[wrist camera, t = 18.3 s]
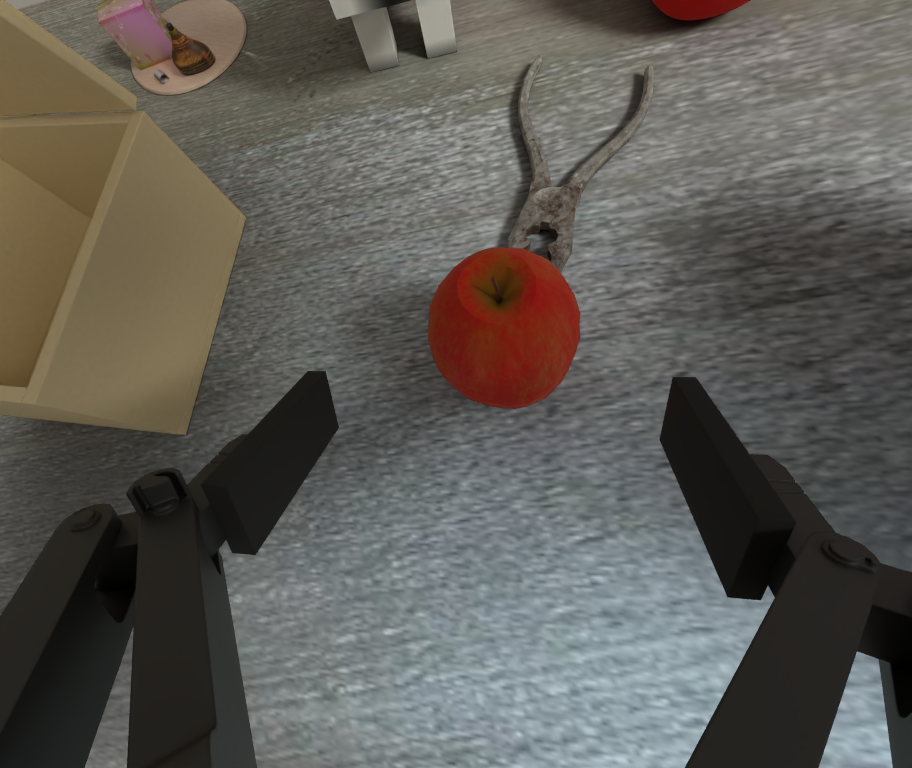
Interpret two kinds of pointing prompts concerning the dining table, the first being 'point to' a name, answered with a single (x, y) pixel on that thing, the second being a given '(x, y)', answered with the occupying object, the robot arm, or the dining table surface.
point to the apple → (504, 327)
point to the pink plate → (175, 41)
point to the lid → (50, 73)
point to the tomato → (696, 8)
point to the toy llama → (376, 32)
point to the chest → (107, 271)
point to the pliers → (559, 203)
